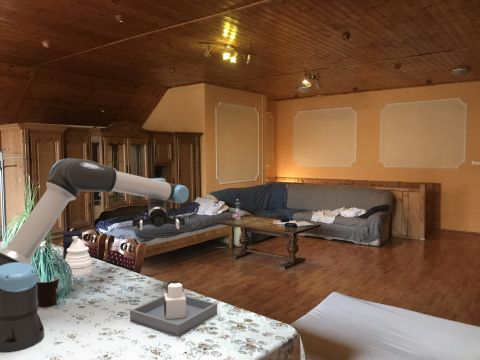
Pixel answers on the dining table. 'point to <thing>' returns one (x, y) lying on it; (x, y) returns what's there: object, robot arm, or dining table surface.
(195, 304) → the box
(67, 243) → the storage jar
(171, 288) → the medicine bottle
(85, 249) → the honey pot
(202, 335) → the dining table surface
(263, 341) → the dining table surface
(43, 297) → the brown plant pot
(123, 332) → the dining table surface
